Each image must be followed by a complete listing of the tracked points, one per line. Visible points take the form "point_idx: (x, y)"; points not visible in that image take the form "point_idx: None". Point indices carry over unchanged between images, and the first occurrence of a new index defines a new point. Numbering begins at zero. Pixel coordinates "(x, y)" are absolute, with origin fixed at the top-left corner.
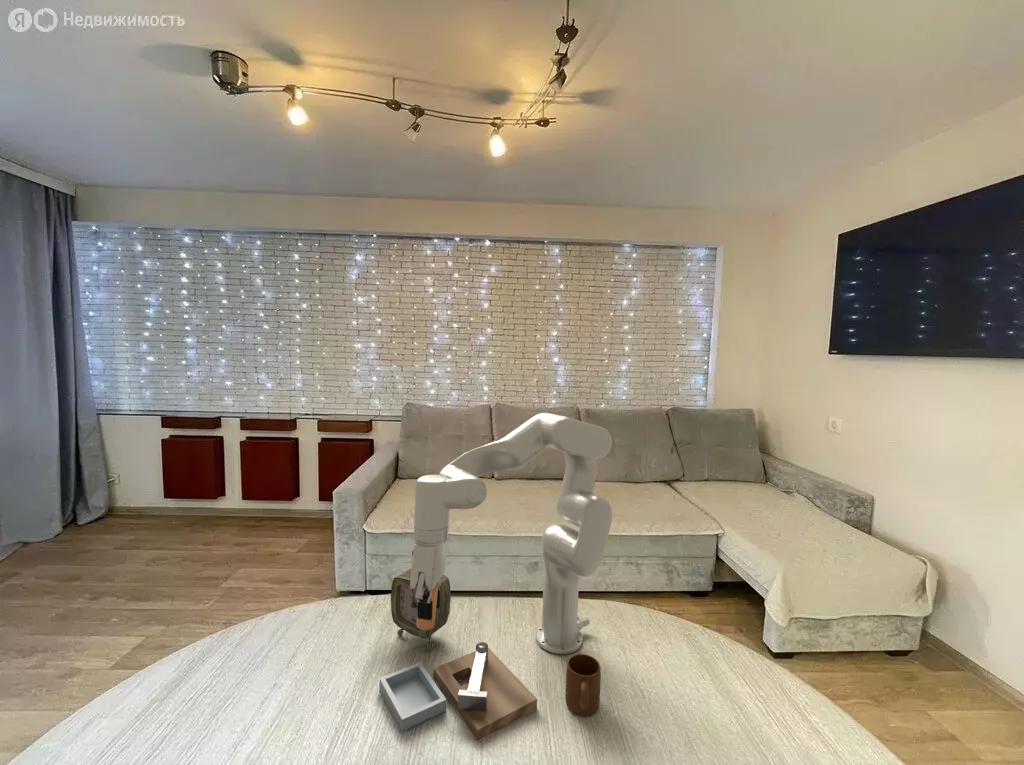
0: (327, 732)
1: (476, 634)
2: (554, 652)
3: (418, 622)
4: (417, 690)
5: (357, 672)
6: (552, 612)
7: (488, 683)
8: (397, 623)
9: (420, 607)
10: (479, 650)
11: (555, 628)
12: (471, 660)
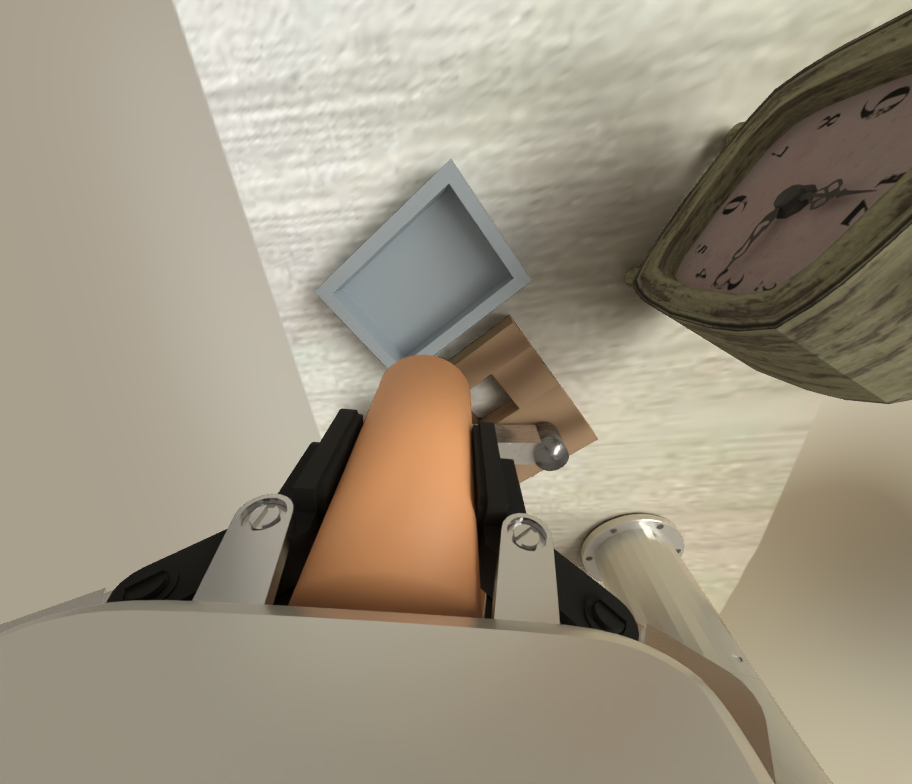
0: (271, 52)
1: (680, 392)
2: (585, 541)
3: (379, 386)
4: (456, 287)
5: (531, 30)
6: (637, 618)
7: None
8: (755, 117)
9: (285, 483)
10: (535, 452)
11: (614, 584)
12: (544, 411)
